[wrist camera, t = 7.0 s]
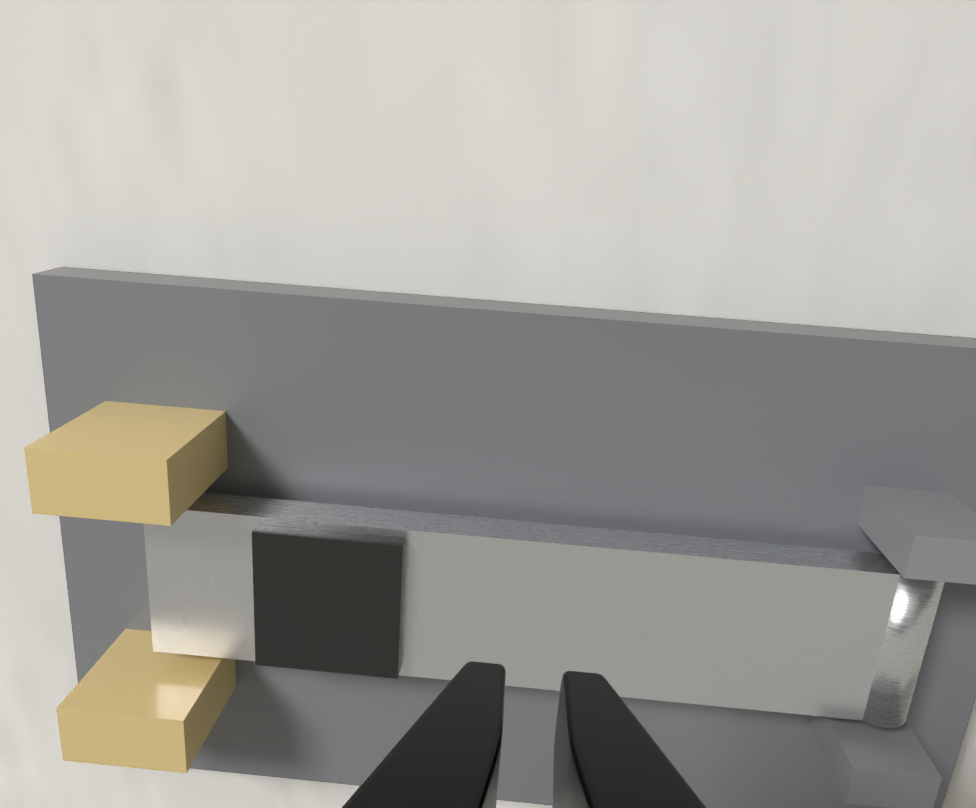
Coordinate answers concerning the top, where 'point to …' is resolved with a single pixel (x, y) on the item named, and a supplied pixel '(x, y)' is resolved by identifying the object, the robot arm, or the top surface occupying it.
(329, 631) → the strap
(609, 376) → the hinge plate
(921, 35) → the top surface
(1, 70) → the top surface
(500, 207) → the top surface
